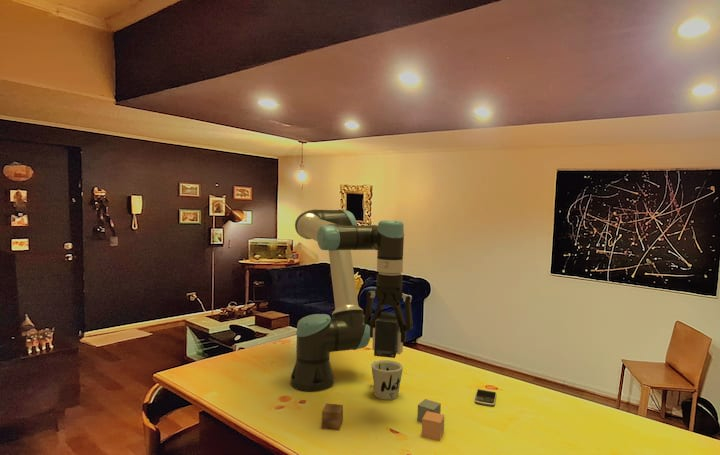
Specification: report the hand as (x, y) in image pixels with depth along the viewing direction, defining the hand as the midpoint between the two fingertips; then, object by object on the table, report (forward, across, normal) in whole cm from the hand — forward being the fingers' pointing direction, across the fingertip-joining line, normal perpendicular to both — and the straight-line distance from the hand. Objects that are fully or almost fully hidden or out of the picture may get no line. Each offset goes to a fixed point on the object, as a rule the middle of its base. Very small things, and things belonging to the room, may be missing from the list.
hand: (387, 350), depth 126 cm
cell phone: (+21, +25, +27) cm, 42 cm away
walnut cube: (+20, -12, -11) cm, 26 cm away
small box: (+1, 0, 0) cm, 1 cm away
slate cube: (+20, +12, +4) cm, 24 cm away
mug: (+20, -7, +16) cm, 27 cm away
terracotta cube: (+20, +15, -3) cm, 25 cm away
